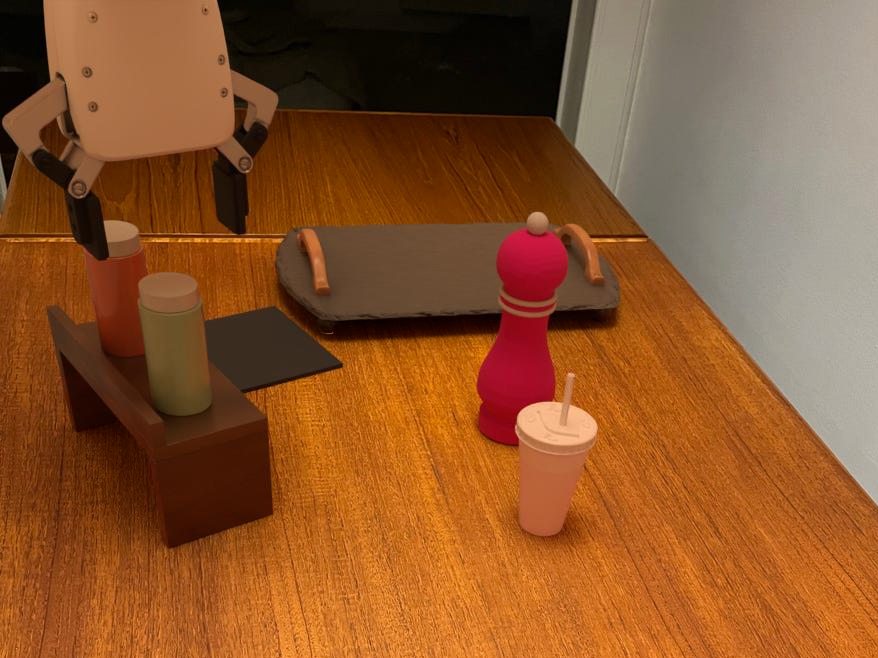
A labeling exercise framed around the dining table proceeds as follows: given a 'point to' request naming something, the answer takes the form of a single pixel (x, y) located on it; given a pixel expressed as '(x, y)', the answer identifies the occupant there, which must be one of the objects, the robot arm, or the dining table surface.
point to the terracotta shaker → (118, 290)
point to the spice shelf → (172, 435)
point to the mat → (264, 349)
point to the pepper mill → (522, 329)
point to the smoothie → (551, 460)
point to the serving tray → (425, 271)
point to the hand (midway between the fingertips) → (165, 240)
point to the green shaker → (175, 343)
